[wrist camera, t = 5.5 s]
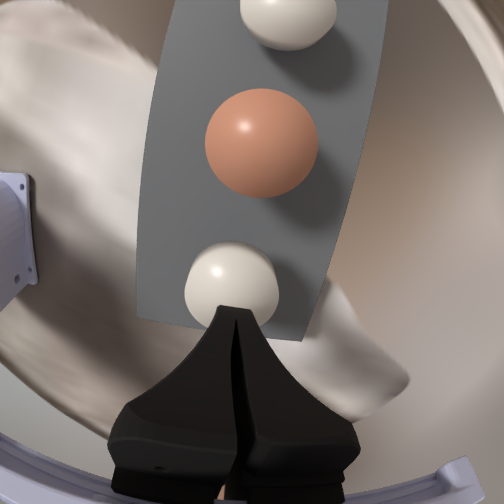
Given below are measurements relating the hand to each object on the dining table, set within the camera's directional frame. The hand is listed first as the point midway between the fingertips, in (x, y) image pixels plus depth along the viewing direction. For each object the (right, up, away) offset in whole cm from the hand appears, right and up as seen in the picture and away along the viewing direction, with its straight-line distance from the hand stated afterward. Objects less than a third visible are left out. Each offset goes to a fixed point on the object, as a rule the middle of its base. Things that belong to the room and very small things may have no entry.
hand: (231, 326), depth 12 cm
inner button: (0, +2, +4) cm, 5 cm away
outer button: (+2, +15, 0) cm, 15 cm away
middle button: (+1, +8, +2) cm, 8 cm away
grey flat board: (+1, +10, +5) cm, 11 cm away
